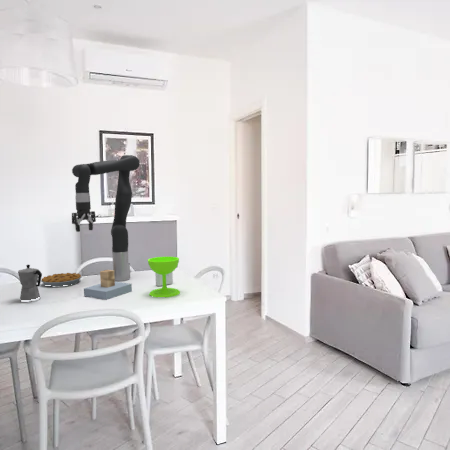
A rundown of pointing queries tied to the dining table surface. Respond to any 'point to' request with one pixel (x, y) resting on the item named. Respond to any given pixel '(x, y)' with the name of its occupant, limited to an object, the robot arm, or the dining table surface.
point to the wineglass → (164, 274)
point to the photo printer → (168, 279)
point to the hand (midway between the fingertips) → (84, 230)
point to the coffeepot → (29, 283)
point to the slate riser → (107, 290)
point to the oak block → (107, 278)
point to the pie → (61, 279)
